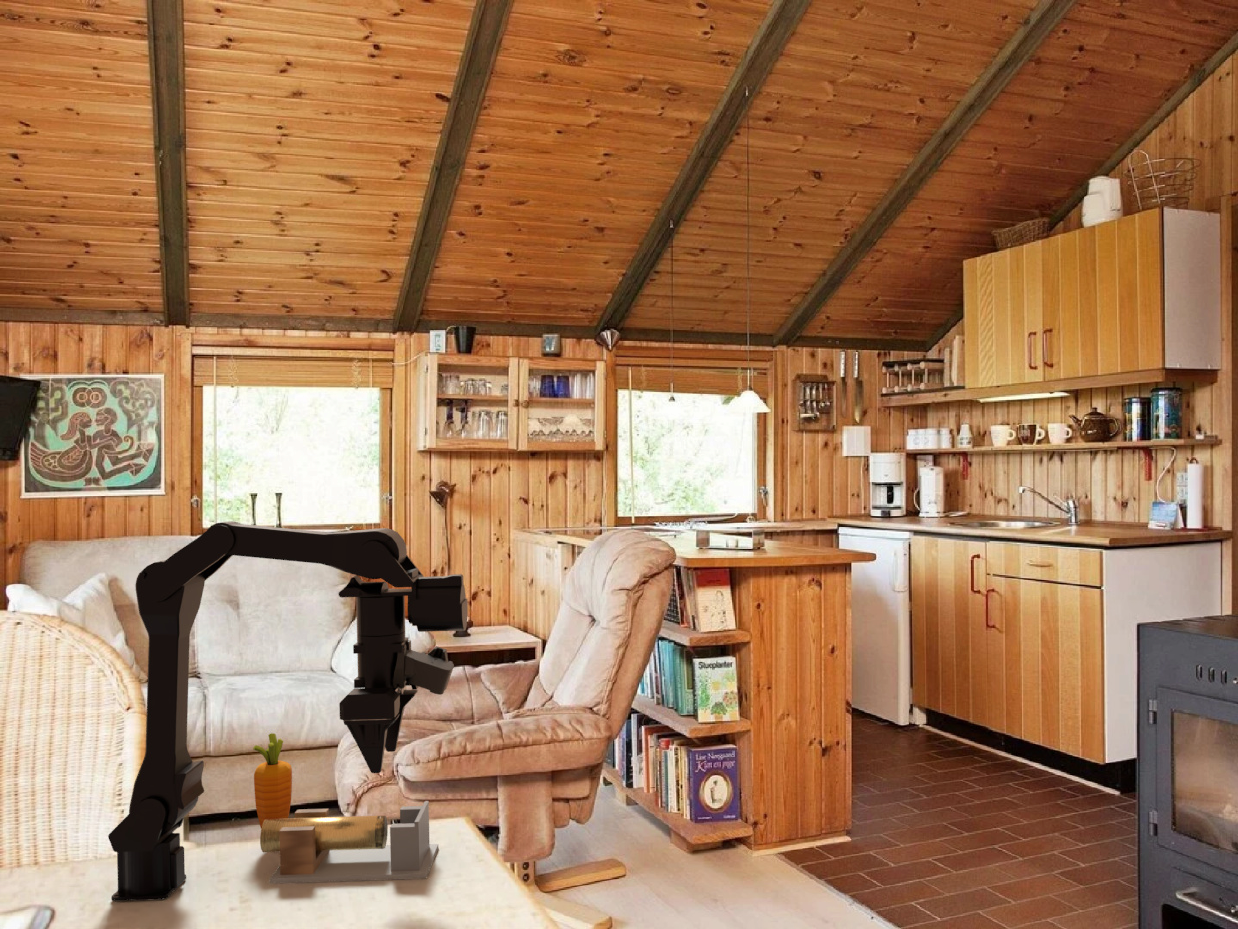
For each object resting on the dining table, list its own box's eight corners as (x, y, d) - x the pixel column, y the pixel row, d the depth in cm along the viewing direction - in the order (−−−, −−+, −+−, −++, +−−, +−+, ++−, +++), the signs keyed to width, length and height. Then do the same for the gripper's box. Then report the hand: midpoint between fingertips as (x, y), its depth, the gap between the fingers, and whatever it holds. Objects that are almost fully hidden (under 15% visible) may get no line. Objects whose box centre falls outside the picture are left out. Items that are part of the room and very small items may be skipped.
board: (269, 883, 127) (269, 878, 127) (293, 853, 137) (292, 848, 137) (426, 878, 127) (426, 873, 127) (438, 848, 137) (438, 844, 137)
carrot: (282, 856, 136) (279, 741, 136) (247, 854, 137) (245, 739, 137) (301, 842, 141) (298, 731, 141) (267, 840, 142) (265, 730, 142)
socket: (391, 871, 128) (389, 822, 128) (402, 847, 136) (401, 801, 136) (419, 870, 128) (418, 821, 128) (429, 847, 136) (428, 801, 136)
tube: (260, 857, 130) (259, 825, 130) (270, 845, 134) (269, 814, 134) (381, 853, 130) (381, 821, 130) (387, 842, 134) (387, 811, 134)
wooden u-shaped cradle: (280, 875, 128) (279, 831, 128) (298, 851, 136) (297, 809, 136) (313, 874, 128) (312, 830, 128) (329, 850, 136) (328, 808, 136)
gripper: (436, 644, 117) (439, 783, 117) (457, 620, 136) (460, 739, 136) (337, 646, 117) (339, 786, 117) (371, 622, 136) (374, 742, 136)
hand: (384, 761), depth 126 cm, fingers open, 9 cm apart
